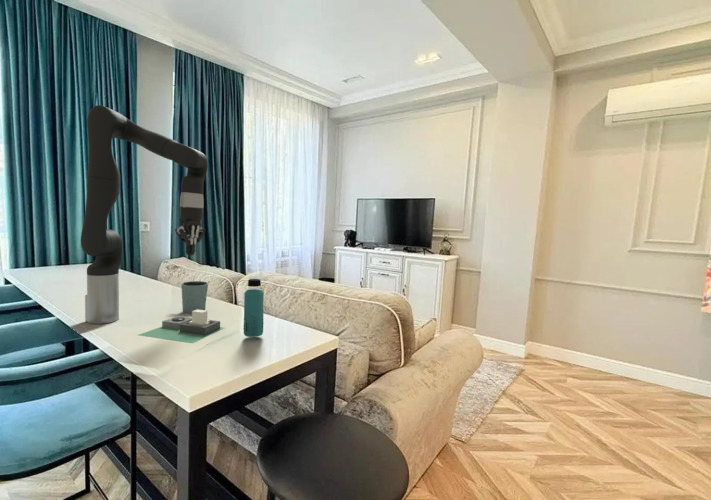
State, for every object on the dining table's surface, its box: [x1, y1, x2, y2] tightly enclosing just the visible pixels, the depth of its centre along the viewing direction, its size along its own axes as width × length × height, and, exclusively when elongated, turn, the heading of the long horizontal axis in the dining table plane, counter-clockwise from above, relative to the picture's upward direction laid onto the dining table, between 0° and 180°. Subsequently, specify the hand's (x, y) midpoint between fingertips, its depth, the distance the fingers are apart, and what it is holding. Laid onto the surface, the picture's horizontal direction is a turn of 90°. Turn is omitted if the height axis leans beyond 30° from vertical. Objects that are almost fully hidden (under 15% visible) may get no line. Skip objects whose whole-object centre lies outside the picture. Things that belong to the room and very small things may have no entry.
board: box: [138, 315, 225, 344], centre depth 110 cm, size 20×16×4 cm
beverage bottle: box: [242, 278, 265, 338], centre depth 111 cm, size 6×7×20 cm
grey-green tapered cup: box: [180, 280, 209, 315], centre depth 139 cm, size 10×10×12 cm
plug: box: [189, 309, 211, 326], centre depth 112 cm, size 6×4×6 cm
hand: (190, 254), depth 120 cm, fingers closed
